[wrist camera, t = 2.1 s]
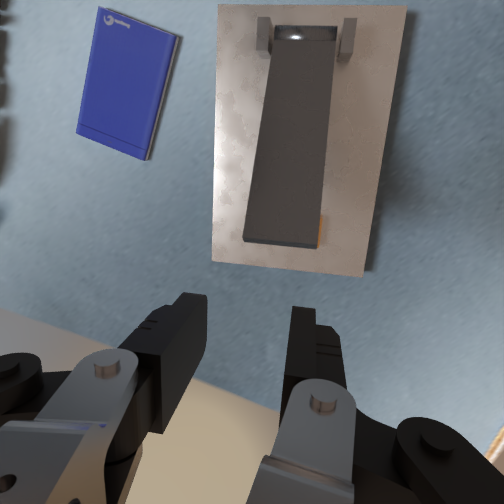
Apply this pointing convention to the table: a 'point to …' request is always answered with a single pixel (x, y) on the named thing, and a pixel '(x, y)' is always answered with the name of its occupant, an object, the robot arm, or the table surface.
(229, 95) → the mounting plate
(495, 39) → the table surface
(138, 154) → the hard drive
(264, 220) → the flat pivoting pedal
